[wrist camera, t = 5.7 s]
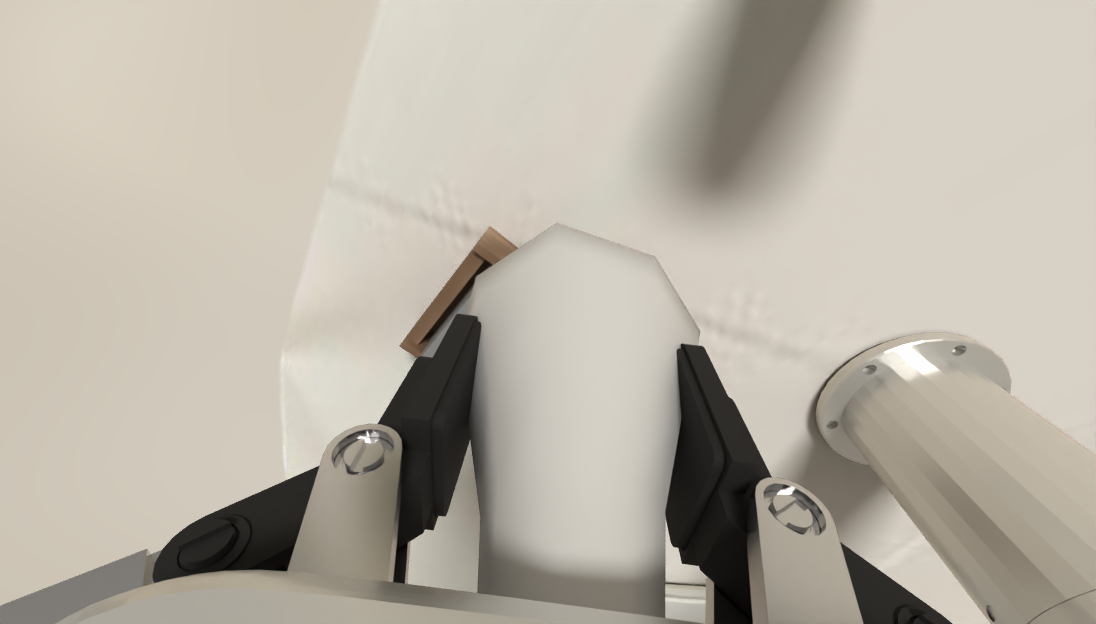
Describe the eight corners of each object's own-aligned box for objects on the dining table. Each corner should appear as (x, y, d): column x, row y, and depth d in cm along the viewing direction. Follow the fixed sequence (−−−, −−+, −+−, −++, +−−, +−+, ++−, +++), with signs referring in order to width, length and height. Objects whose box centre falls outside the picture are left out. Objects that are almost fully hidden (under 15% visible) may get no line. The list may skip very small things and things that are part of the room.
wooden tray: (672, 369, 32) (689, 423, 27) (587, 437, 36) (587, 495, 31) (490, 226, 28) (467, 257, 22) (417, 322, 32) (383, 366, 27)
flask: (589, 450, 15) (603, 933, 7) (421, 350, 14) (135, 827, 5) (741, 322, 12) (1150, 908, 3) (551, 171, 10) (412, 590, 2)
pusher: (508, 264, 28) (494, 294, 23) (444, 341, 31) (422, 379, 27) (496, 255, 27) (480, 284, 23) (433, 334, 31) (409, 371, 27)
